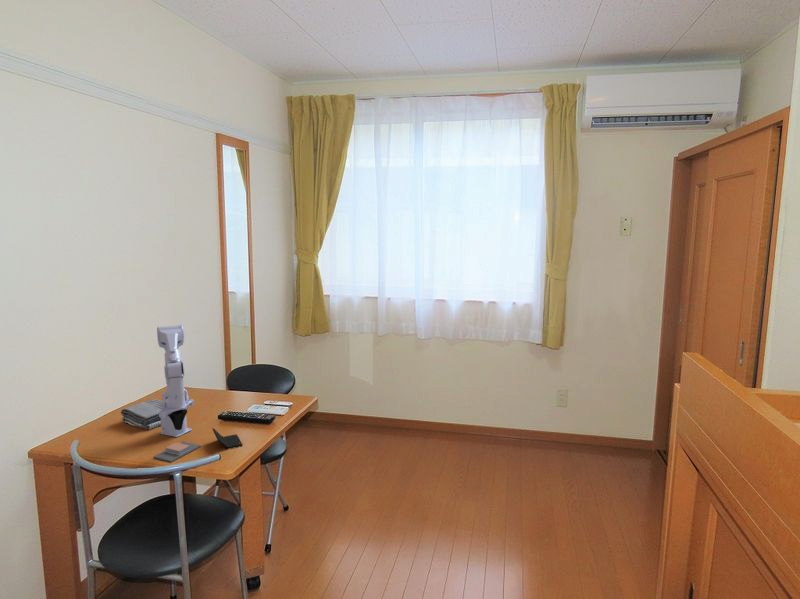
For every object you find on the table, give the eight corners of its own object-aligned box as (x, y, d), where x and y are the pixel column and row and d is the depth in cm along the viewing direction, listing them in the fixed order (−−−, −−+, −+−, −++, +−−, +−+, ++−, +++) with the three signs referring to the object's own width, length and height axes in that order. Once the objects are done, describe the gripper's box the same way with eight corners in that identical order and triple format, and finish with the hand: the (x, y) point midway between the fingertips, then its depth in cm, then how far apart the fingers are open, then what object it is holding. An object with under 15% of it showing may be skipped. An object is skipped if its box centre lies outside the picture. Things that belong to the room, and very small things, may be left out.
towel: (152, 412, 230) (151, 395, 229) (179, 420, 221) (177, 402, 220) (120, 423, 217) (118, 406, 216) (146, 432, 208) (145, 414, 207)
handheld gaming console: (247, 440, 195) (229, 424, 191) (234, 456, 192) (215, 439, 188) (237, 435, 204) (219, 419, 200) (224, 449, 201) (206, 434, 197)
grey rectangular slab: (153, 457, 184) (153, 456, 184) (183, 442, 197) (183, 441, 197) (171, 462, 181) (171, 461, 181) (201, 446, 193) (201, 445, 193)
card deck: (176, 446, 193) (165, 451, 188) (176, 442, 192) (165, 447, 188) (190, 449, 190) (179, 455, 185) (190, 445, 190) (179, 451, 185)
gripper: (168, 402, 178) (170, 438, 180) (199, 389, 192) (201, 423, 194) (153, 399, 181) (156, 435, 183) (185, 387, 194) (187, 420, 196)
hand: (178, 429), depth 189 cm, fingers closed
